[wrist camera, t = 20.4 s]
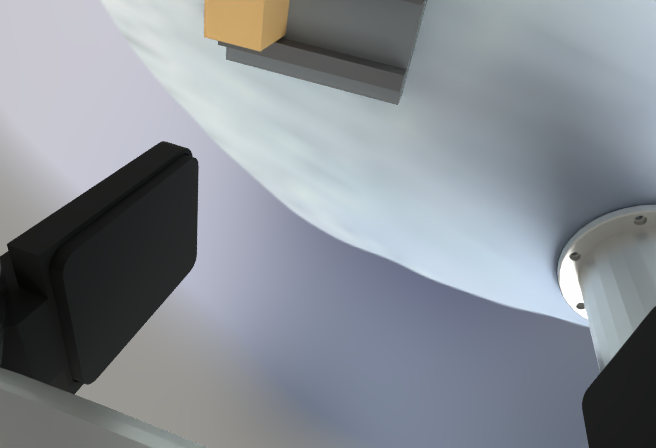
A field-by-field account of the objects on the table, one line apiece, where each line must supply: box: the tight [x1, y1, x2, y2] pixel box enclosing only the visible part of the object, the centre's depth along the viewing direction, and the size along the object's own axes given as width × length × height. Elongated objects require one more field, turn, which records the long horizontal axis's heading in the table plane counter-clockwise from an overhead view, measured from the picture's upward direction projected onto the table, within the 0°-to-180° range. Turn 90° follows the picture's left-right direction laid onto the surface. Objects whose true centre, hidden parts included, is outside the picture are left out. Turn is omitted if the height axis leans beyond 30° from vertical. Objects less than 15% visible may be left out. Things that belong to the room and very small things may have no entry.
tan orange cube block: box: [204, 0, 289, 51], centre depth 32 cm, size 4×4×5 cm
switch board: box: [218, 0, 427, 105], centre depth 34 cm, size 14×10×4 cm
